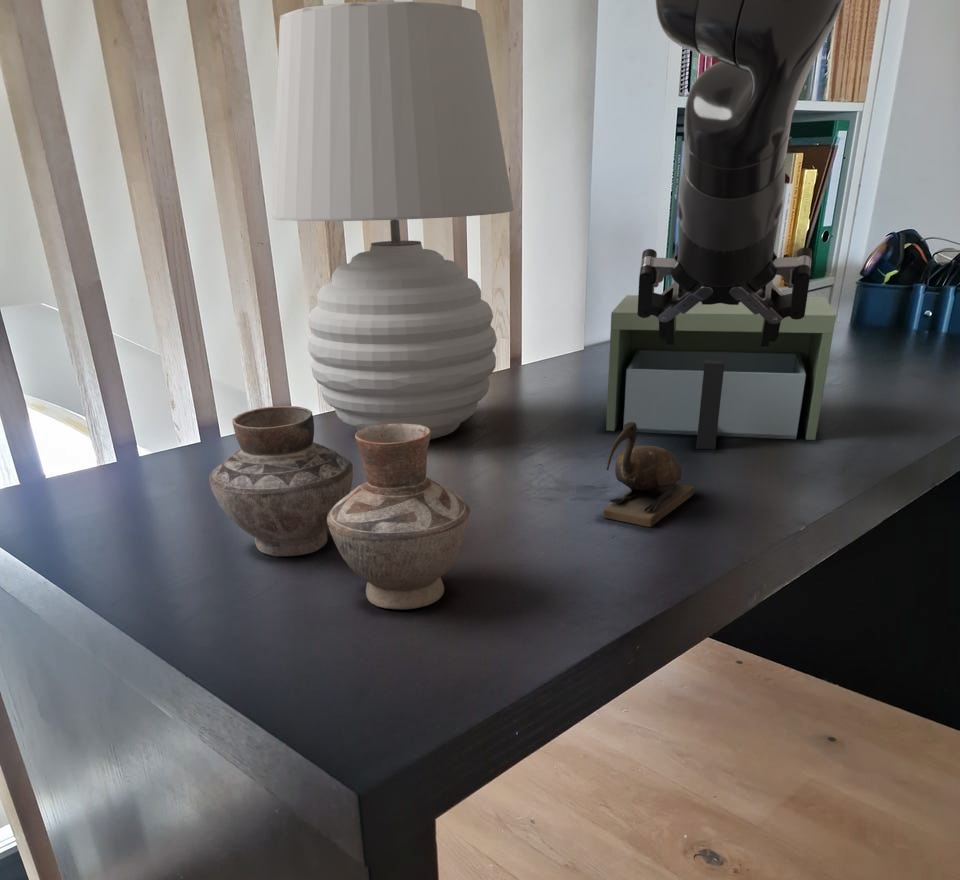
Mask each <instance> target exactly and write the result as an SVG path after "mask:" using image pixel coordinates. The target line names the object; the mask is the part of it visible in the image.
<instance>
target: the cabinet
mask: <svg viewBox="0 0 960 880" xmlns="http://www.w3.org/2000/svg"><path fill="white" fill-rule="evenodd" d="M637 313H638V294H637V295H636V294H635V295H633V294H632V295H631V294H627V295H626V296H625V297H624V298H622V299H621V301H620V302H619V303H618V304H617V305H616V306H615V308H614V309H613V310H612V311H611V313H610V331H609V332H610V335H609V355H608V377H607V399H606V400H607V401H606V421H605V422H606V423H605V431H607V432H615V431H616V429H617V427H618V424H619V422H620V420H621V418H622V416H623V415H624V408H625V390H626V372H627V368H628V367H629V365H630V363H631V361H632V360H633V358H634V356H635V354H636V353H637V351H638V350H680V351H724V352H768V353H800V355H801V359H802V362H803V366H804V369H805V373H806V378H805V385H804V391H803V398H802V404H801V411H800V418H801V423H802V427H803V433H804V437H805V440H806V441H816V439H817V433H818V428H819V419H820V414H821V409H822V403H823V396H824V390H825V385H826V378H827V372H828V366H829V361H830V360H829V359H830V354H831V349H832V342H833V336H834V335H833V333H834V329H835V325H836V317H837V315H836V313H835V311H834V309H833V308H832V306H831V304H830V302H829V300H828V298H827V297H826V296H807V302H806V309H805V316H804V317H803V318H802V319H798V320H795V319H792V318H791V317H790V316H789V317H786V318H784V319H782V321H781V324H780V329H779V334H778V338H777V339H776V341H769V346H768V347H760V345H761V335H762V326H763V320H764V318H763V317H762V316H761V315H760V314H757V315H755V314H753V313H752V312H751V311H750V310H749V309H748V308H747V307H746V306H745V305H744V304H743V303H742V302H739V305H728V304H722V303H718V304H711V305H702V302H699V303H697V304H696V305H695V306H694V307H692V308H691V309H690V310H689V311H687V312H686V313H685V314H682V313H679V314H678V315H677V316H676V332H675V340H674V345H666V340H661V338H660V337H659V320H658V318H657V317H656V316H654V315H650V316H649V317H647V318H641V317H639V316H638V314H637Z"/></svg>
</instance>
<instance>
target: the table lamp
mask: <svg viewBox="0 0 960 880" xmlns="http://www.w3.org/2000/svg"><path fill="white" fill-rule="evenodd" d="M278 29H279V30H278V31H279V34H278V59H277V60H278V61H277V86H276V87H277V88H276V115H275V138H274V139H275V140H274V142H275V143H274V144H275V145H274V166H273V167H274V171H273V197H272V219H273V220H277V221H294V222H358V221H359V222H362V221H364V222H365V221H367V222H368V221H389V222H390V223H389V224H390V240H386V241H384V240H383V241H376V242H371V243H370V248H369V250H366V251H362V252H359V253H357V254H355V255H354V256H352V257H351V259H350V261H349V262H348V263H345V264H342V265H340V266H337V267H336V268H335V270H334V272H333V273H332V275H331V282H328V283H326V284H324V285H323V286H321V287H320V288H319V291H318V293H317V296H316V301H317V305H316V306H314V307H313V308H312V309H311V311H310V313H309V315H308V317H307V318H308V327H309V329H310V331H311V334H310V336H309V337H308V339H307V350H308V352H309V355H310V357H311V358H312V360H311V362H310V369H311V374H312V377H313V378H314V380H315V381H316V382H317V383H318V384H319V385H320V393H321V396H322V398H323V401H324V402H326V404H328V405H329V406H330V407H331V408H334V411H335V414H336V415H337V418H338V419H340V420H341V421H342V422H343V423H344V424H345V425H347V426H350V427H352V428H354V429H355V430H356V431H357V432H358V431H360V430H362V429H364V428H367V427H370V426H375V425H383V424H417V425H422V426H426V427H427V428H429V429H430V432H431V434H430V441H431V440H433V439H437V438H440V437H443V436H444V437H445V436H447V435H449V434H452V433H453V432H455V431H456V430H457V429H458V428H459V427H460V425H461V424H462V422H465V421H466V420H468V419H469V418H471V416H473V415H474V414H475V413H476V411H477V409H478V406H479V402H480V401H482V399H484V398H485V396H486V395H487V394H488V392H489V389H490V384H491V381H490V376H491V375H492V374H493V373H494V371H495V369H496V365H497V356H496V354H495V351H494V349H495V347H496V345H497V341H498V339H497V335H496V331H495V329H494V328H493V326H492V325H491V324H492V322H493V319H494V314H493V309H492V307H491V305H490V304H489V303H488V302H487V301H485V300H484V299H482V290H481V288H480V285H479V284H478V283H477V281H475V280H474V279H473V278H470V277H466V276H465V271H464V268H463V267H462V266H461V265H460V264H459V263H458V262H455V261H454V260H450V259H445V258H444V257H445V256H444V255H442V254H441V253H440V252H438V251H436V250H432V249H428V248H423V244H422V241H420V240H402V239H401V230H400V229H401V228H400V221H401V220H422V219H424V220H425V219H427V220H428V219H447V218H463V217H474V216H475V217H477V216H488V215H496V214H497V215H499V214H504V213H510V212H513V211H514V203H513V197H512V191H511V185H510V179H509V172H508V168H507V160H506V157H505V150H504V144H503V138H502V131H501V126H500V121H499V115H498V109H497V101H496V98H495V92H494V91H495V90H494V85H493V80H492V73H491V68H490V62H489V56H488V50H487V43H486V39H485V33H484V27H483V21H482V16H481V14H480V13H479V12H478V10H476V9H473V8H470V7H465V6H461V5H455V4H446V3H436V2H422V1H353V2H343V3H342V2H341V3H331V4H330V3H329V4H323V5H316V6H307V7H302V8H299V9H295V10H292V11H288V12H286V13H283V14H281V15H279V28H278Z"/></svg>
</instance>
